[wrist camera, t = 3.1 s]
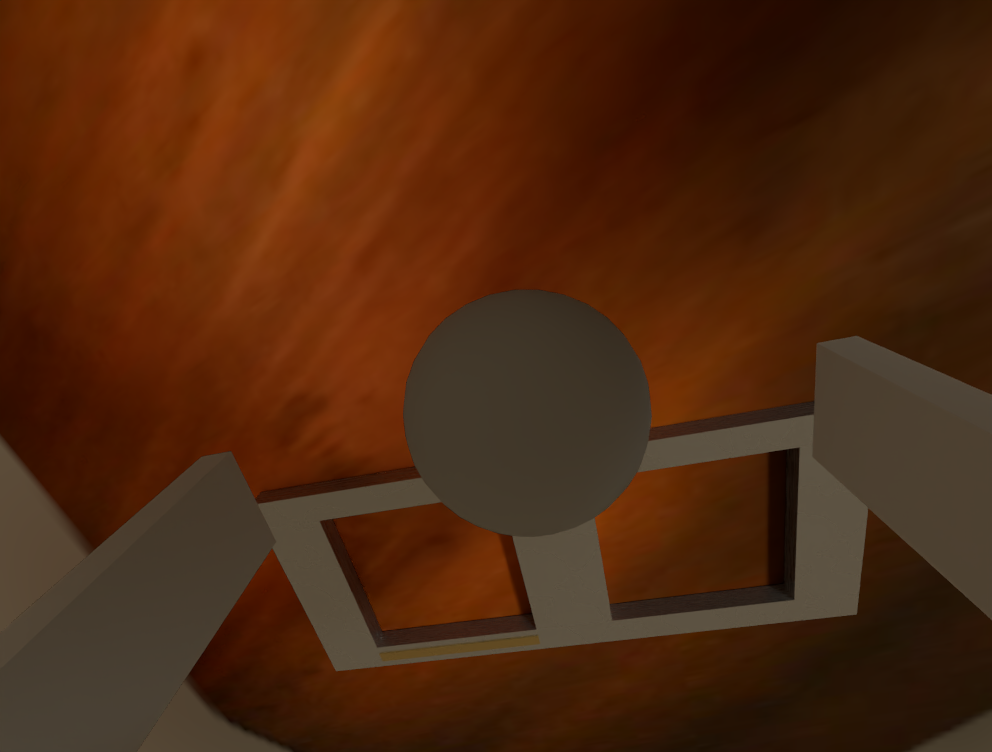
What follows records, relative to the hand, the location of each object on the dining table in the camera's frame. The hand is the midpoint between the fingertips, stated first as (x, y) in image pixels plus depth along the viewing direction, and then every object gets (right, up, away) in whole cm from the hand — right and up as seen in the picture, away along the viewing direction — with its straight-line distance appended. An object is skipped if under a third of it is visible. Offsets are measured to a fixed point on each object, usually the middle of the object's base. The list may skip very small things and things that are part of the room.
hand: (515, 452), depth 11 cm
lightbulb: (+1, +4, +9) cm, 10 cm away
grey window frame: (+3, -7, +13) cm, 15 cm away
